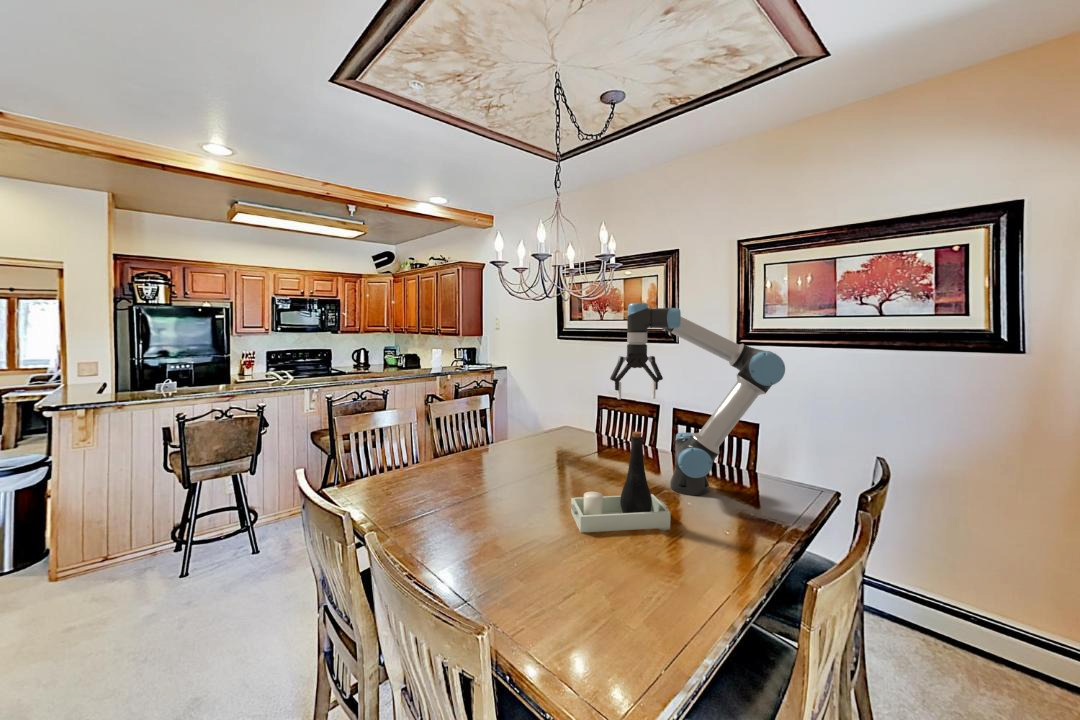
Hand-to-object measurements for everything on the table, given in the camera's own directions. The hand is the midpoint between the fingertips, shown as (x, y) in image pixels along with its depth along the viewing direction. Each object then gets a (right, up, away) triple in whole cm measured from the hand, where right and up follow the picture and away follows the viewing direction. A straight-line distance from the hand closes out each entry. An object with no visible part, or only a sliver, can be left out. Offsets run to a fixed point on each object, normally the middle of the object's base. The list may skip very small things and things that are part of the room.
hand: (636, 398), depth 176 cm
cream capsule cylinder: (-19, -40, -21) cm, 49 cm away
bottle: (-4, -40, -20) cm, 44 cm away
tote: (-10, -40, -20) cm, 46 cm away
